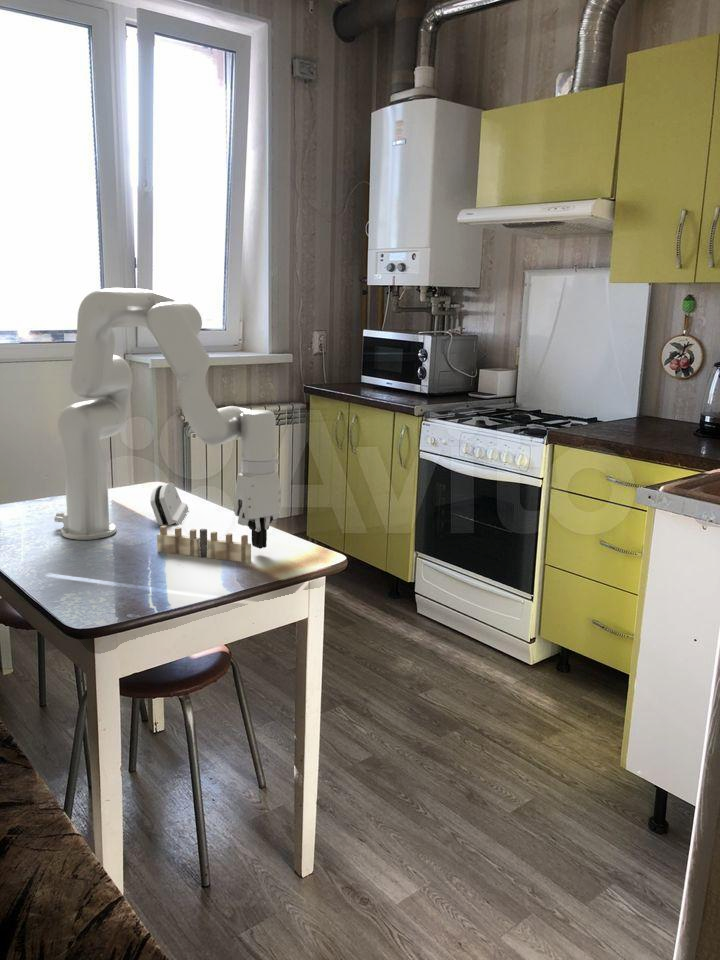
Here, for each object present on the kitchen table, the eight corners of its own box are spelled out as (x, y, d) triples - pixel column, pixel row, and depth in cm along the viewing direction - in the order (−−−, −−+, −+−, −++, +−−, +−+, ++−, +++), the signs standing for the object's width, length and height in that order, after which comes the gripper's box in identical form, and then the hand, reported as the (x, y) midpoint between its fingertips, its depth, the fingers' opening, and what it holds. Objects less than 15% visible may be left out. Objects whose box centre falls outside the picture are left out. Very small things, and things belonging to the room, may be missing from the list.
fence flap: (207, 557, 175) (207, 532, 174) (209, 556, 176) (209, 531, 175) (249, 562, 173) (249, 537, 171) (251, 561, 174) (251, 535, 173)
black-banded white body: (179, 528, 198) (164, 491, 196) (161, 533, 198) (146, 497, 196) (189, 509, 214) (175, 475, 212) (172, 515, 214) (159, 481, 212)
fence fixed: (157, 552, 178) (156, 525, 176) (160, 550, 179) (159, 523, 178) (205, 559, 175) (205, 531, 174) (208, 556, 177) (208, 529, 175)
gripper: (274, 459, 182) (275, 536, 186) (220, 468, 171) (221, 549, 176) (295, 465, 176) (295, 543, 181) (240, 474, 166) (241, 557, 170)
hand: (259, 546), depth 178 cm, fingers closed
